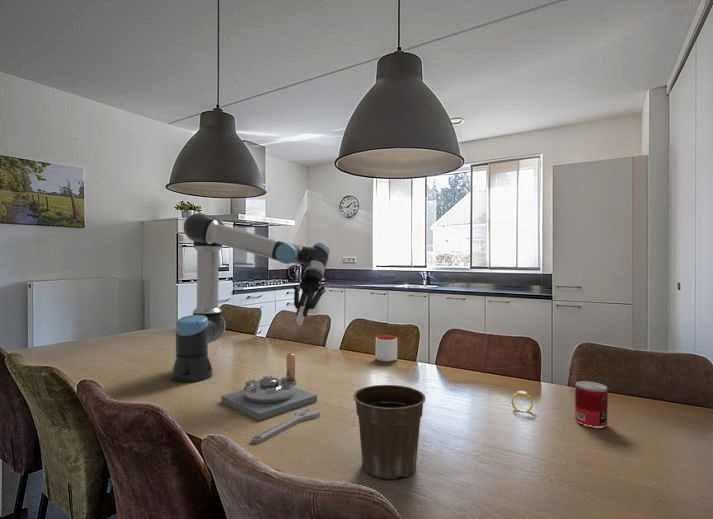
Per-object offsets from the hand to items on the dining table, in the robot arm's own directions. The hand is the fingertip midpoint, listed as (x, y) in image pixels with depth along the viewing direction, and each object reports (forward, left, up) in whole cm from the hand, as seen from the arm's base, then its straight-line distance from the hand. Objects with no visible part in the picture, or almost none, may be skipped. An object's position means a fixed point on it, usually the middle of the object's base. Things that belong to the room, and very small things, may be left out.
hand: (298, 322), depth 147 cm
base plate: (+4, -16, -23) cm, 28 cm away
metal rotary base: (+4, -16, -21) cm, 27 cm away
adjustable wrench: (+23, -23, -24) cm, 41 cm away
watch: (+67, +33, -24) cm, 79 cm away
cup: (-3, +53, -24) cm, 58 cm away
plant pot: (+58, -21, -24) cm, 66 cm away
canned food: (+85, +37, -24) cm, 96 cm away
